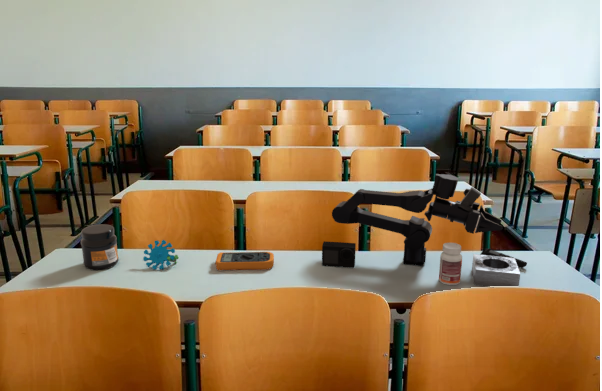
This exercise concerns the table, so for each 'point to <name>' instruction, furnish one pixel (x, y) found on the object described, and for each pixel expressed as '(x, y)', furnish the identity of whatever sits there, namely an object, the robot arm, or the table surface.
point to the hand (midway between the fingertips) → (501, 224)
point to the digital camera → (338, 254)
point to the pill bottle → (450, 264)
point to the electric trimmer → (494, 253)
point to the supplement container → (99, 247)
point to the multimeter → (245, 261)
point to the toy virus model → (160, 255)
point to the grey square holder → (495, 271)
